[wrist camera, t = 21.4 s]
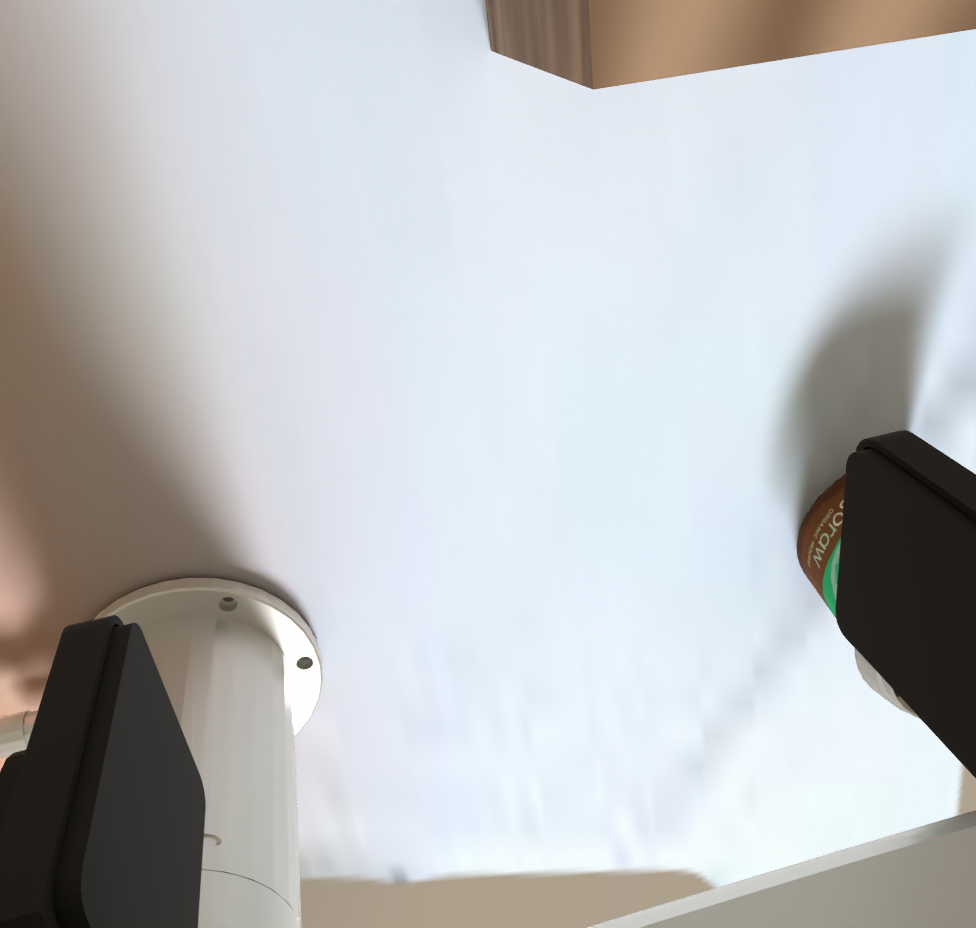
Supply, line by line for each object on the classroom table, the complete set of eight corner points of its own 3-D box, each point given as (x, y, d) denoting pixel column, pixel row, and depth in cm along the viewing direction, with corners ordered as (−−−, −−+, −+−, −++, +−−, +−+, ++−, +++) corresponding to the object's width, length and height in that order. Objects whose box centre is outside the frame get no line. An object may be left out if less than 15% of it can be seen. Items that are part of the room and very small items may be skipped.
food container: (819, 427, 48) (938, 527, 39) (915, 434, 50) (1049, 531, 41) (750, 611, 53) (842, 734, 45) (839, 612, 55) (943, 730, 47)
